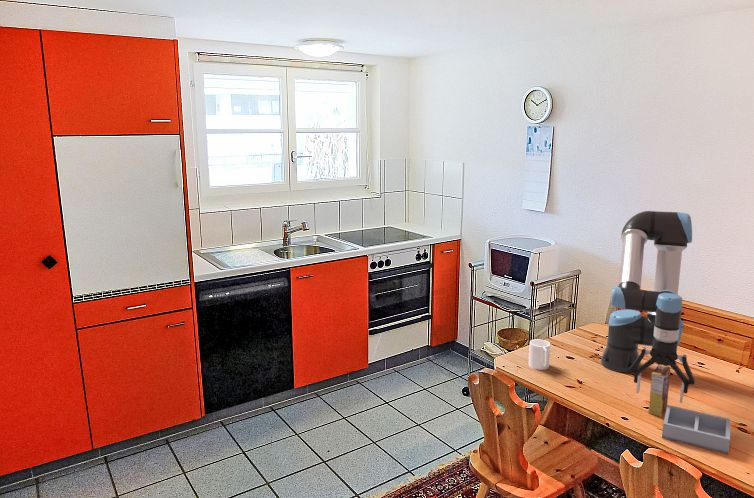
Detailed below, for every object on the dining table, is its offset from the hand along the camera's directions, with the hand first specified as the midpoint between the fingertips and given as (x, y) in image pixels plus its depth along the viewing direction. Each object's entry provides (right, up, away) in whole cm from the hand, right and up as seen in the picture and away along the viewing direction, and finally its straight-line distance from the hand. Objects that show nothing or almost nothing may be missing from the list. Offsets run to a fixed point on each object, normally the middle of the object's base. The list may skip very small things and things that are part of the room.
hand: (659, 396), depth 192 cm
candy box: (0, -5, +1) cm, 6 cm away
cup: (-31, +2, +36) cm, 47 cm away
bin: (+4, -9, -14) cm, 17 cm away
